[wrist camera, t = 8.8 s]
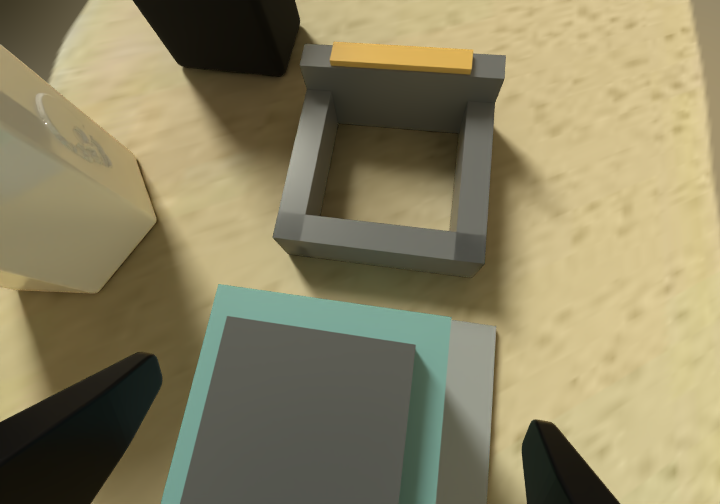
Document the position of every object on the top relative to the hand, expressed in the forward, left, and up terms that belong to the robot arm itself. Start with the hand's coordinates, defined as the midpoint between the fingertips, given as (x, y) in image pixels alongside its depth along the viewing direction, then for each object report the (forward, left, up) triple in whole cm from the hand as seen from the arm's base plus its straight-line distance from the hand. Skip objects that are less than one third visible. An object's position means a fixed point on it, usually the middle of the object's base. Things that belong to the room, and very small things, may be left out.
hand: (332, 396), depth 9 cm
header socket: (+10, 0, -8) cm, 12 cm away
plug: (0, 0, -7) cm, 7 cm away
